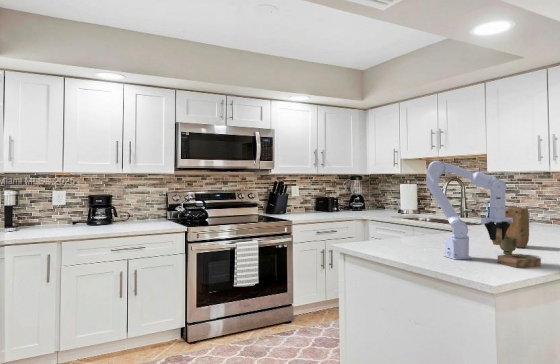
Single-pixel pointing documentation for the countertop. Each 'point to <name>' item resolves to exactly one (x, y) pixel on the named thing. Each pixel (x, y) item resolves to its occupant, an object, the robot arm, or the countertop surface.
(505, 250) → the cup
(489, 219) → the robot arm
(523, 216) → the block
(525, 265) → the board
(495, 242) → the peg
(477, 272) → the countertop surface
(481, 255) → the countertop surface
